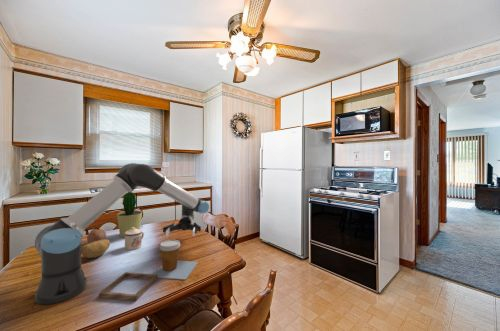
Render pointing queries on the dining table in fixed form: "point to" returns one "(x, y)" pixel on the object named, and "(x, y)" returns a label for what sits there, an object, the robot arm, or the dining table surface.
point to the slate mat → (177, 271)
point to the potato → (95, 248)
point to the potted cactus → (129, 214)
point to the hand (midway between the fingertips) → (179, 234)
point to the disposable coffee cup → (169, 254)
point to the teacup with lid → (133, 238)
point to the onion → (96, 235)
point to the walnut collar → (131, 297)
